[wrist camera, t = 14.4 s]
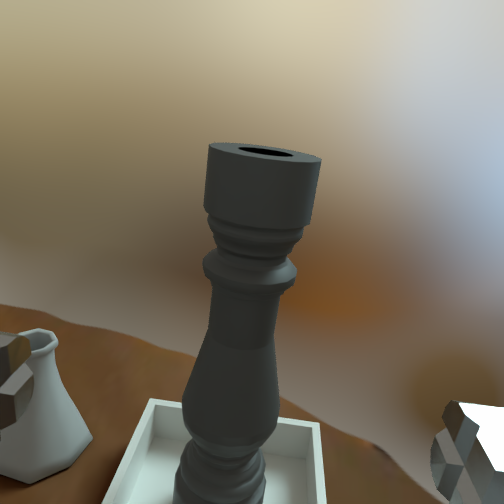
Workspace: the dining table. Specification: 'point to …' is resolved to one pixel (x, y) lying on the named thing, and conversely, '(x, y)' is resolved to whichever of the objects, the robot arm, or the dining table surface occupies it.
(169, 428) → the box
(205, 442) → the candle holder
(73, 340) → the dining table surface
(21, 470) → the flask
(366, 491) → the dining table surface
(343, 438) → the dining table surface
